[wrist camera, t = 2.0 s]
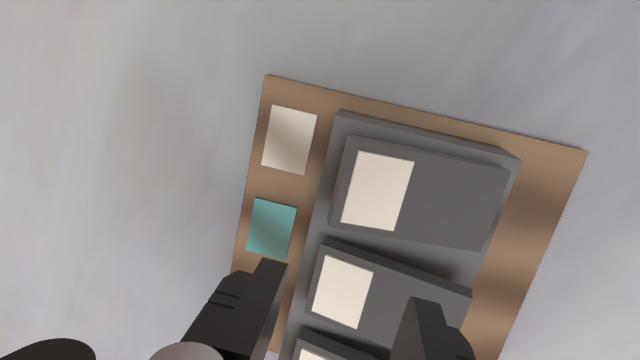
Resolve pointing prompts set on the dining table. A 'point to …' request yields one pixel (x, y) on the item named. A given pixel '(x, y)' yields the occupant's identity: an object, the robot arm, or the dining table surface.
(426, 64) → the dining table surface
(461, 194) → the rocker
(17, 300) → the dining table surface
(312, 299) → the block
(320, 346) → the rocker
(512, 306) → the switch panel
